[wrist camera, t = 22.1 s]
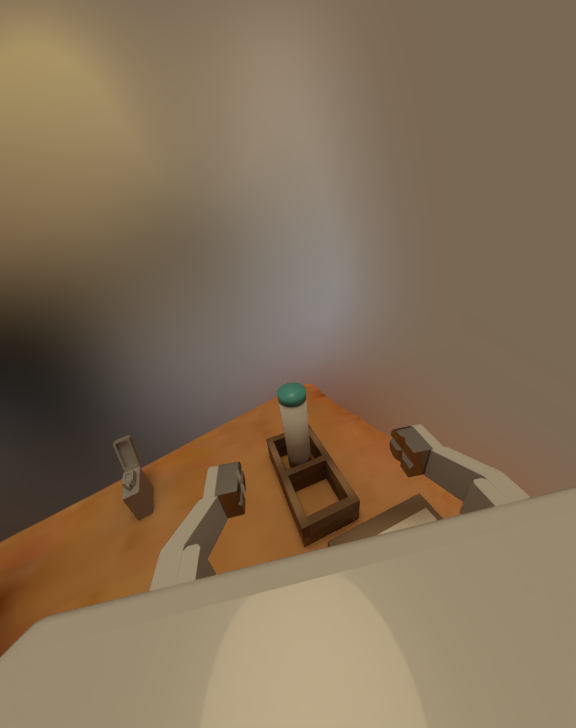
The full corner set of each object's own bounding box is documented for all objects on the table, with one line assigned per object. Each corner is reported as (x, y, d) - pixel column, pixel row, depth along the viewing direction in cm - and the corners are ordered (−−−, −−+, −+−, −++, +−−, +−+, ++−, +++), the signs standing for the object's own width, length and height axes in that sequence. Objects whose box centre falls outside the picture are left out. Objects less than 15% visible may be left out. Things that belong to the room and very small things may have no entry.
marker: (316, 476, 30) (310, 394, 24) (294, 484, 30) (281, 402, 23) (307, 458, 33) (299, 380, 26) (287, 465, 32) (274, 387, 26)
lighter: (153, 512, 28) (124, 471, 25) (137, 520, 28) (105, 479, 24) (152, 470, 34) (128, 431, 30) (139, 476, 33) (113, 437, 30)
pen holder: (358, 518, 25) (359, 500, 24) (304, 546, 24) (301, 529, 22) (309, 440, 36) (308, 424, 34) (269, 456, 34) (266, 439, 32)
